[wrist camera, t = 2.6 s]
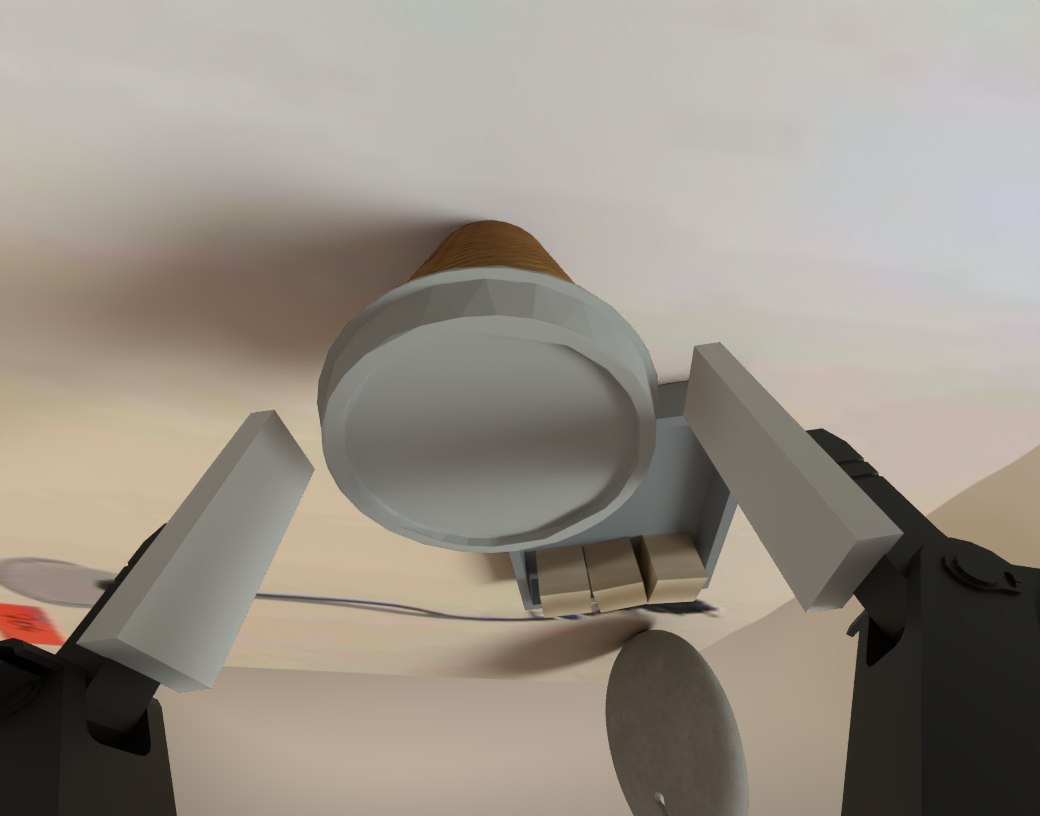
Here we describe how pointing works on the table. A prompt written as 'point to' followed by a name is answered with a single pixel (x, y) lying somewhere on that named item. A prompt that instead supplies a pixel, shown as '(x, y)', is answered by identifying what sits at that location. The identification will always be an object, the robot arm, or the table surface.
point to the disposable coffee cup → (488, 400)
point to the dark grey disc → (673, 731)
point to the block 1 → (563, 581)
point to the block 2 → (614, 574)
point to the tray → (657, 500)
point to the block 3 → (670, 568)
